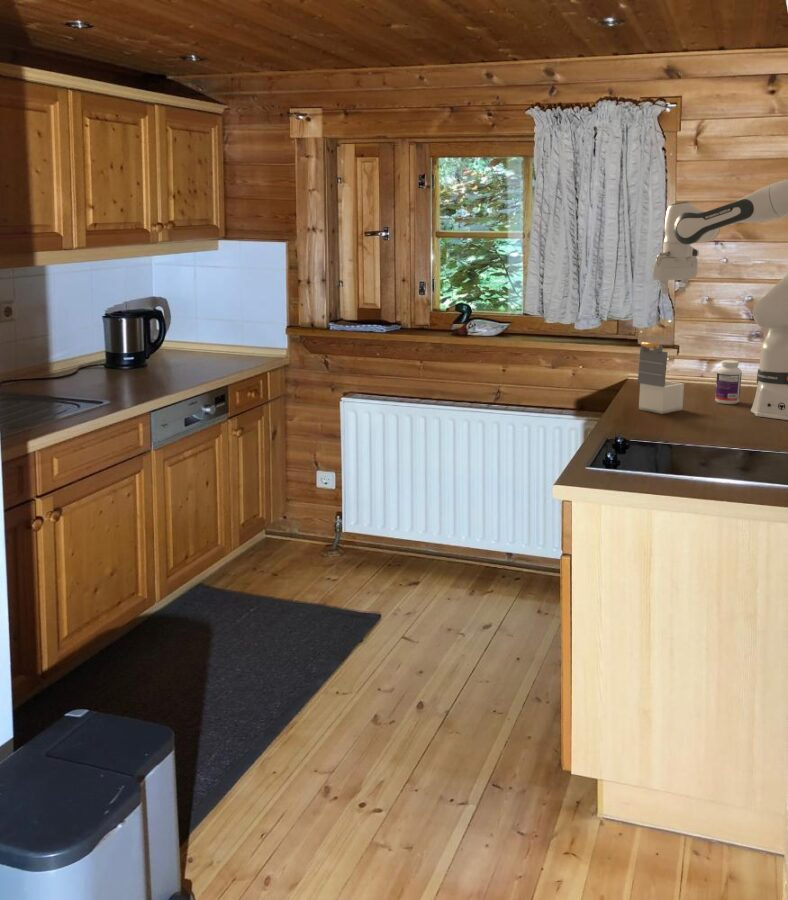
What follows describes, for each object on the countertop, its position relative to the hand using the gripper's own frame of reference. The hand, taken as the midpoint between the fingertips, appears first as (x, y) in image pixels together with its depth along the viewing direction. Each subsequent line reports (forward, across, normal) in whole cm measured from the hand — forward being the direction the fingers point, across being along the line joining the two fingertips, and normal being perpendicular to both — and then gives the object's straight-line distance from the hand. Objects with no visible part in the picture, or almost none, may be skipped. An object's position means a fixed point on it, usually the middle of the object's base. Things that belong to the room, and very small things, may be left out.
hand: (673, 292), depth 360 cm
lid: (+21, -21, -9) cm, 31 cm away
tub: (+37, -16, -9) cm, 41 cm away
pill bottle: (+37, +12, -16) cm, 42 cm away
